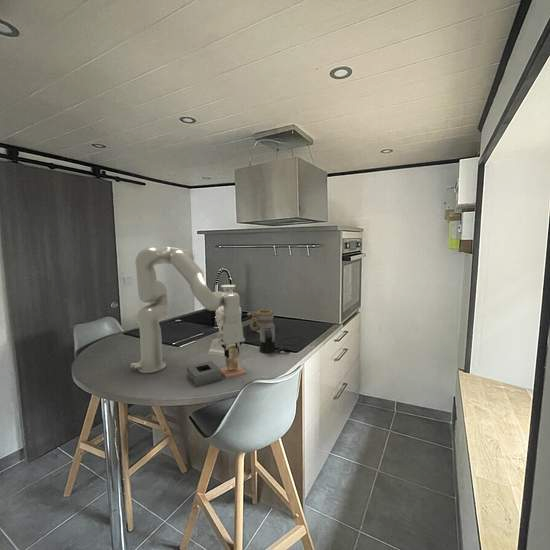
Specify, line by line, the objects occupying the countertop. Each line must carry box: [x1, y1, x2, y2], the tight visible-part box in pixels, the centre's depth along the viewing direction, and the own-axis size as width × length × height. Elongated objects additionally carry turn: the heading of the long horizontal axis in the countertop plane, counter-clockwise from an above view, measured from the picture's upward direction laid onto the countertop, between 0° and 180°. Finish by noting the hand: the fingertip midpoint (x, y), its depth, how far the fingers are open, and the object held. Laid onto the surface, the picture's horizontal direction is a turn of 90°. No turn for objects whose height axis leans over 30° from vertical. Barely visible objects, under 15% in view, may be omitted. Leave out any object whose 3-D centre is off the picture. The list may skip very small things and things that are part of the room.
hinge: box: [208, 337, 236, 358], centre depth 168 cm, size 17×5×10 cm, turn 72°
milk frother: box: [259, 324, 290, 354], centre depth 172 cm, size 14×16×15 cm
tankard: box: [246, 309, 275, 334], centre depth 208 cm, size 20×13×15 cm, turn 118°
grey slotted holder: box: [186, 360, 222, 388], centre depth 138 cm, size 12×12×5 cm
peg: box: [225, 345, 239, 370], centre depth 144 cm, size 4×4×10 cm
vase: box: [215, 284, 242, 335], centre depth 188 cm, size 16×16×35 cm
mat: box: [218, 365, 247, 379], centre depth 145 cm, size 10×10×1 cm
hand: (231, 355), depth 144 cm, fingers closed on peg, 4 cm apart
